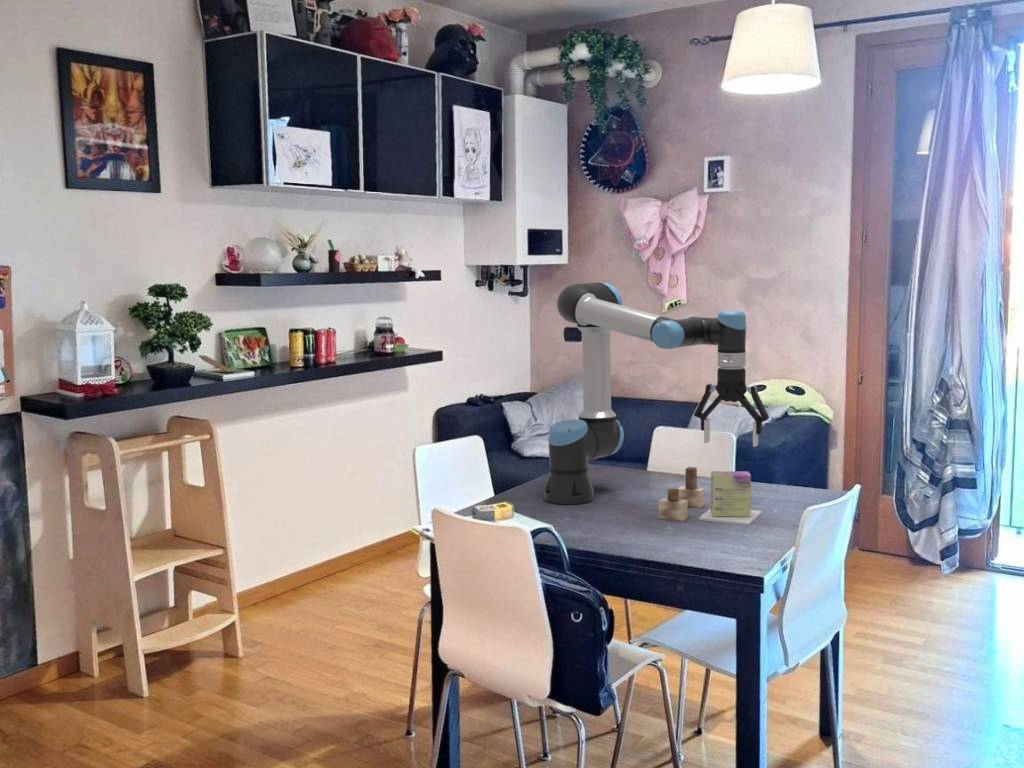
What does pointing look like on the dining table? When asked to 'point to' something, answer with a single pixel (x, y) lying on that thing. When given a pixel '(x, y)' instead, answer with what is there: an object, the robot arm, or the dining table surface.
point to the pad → (731, 518)
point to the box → (731, 493)
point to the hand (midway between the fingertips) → (730, 444)
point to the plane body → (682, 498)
